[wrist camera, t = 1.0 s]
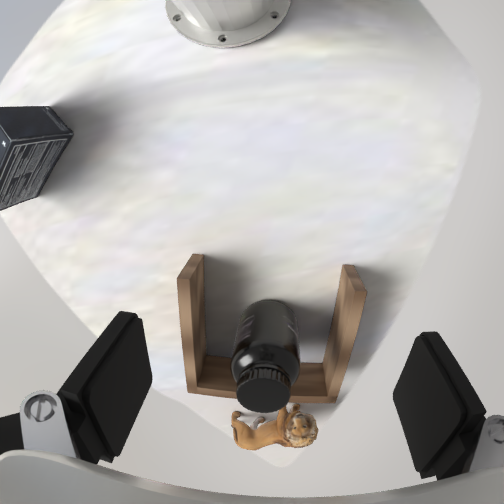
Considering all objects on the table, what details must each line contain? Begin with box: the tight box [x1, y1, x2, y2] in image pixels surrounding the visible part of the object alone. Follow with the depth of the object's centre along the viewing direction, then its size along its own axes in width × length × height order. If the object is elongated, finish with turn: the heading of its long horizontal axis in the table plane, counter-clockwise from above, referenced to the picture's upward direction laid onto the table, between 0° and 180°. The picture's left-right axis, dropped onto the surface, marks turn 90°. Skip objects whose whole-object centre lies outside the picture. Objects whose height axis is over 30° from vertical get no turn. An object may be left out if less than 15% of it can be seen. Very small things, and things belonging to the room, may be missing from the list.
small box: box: [0, 106, 73, 211], centre depth 25 cm, size 11×6×10 cm, turn 134°
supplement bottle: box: [230, 300, 301, 413], centre depth 30 cm, size 7×7×12 cm
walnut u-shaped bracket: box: [177, 254, 367, 403], centre depth 33 cm, size 15×17×6 cm
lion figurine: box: [231, 404, 318, 450], centre depth 37 cm, size 15×5×9 cm, turn 129°
